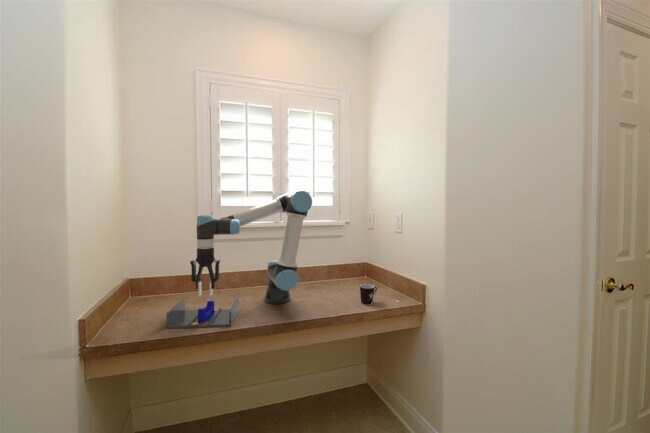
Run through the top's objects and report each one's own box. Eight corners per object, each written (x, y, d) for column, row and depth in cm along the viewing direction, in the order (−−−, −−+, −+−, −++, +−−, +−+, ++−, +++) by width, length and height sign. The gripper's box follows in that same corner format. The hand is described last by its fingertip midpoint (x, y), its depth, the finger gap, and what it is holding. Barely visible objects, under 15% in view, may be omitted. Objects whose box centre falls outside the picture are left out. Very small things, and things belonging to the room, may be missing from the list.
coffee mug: (362, 306, 153) (362, 288, 153) (357, 300, 162) (357, 284, 161) (381, 305, 156) (382, 287, 155) (375, 299, 164) (376, 283, 164)
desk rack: (238, 310, 143) (239, 297, 143) (231, 326, 126) (231, 311, 125) (182, 312, 140) (182, 298, 140) (166, 328, 122) (166, 313, 122)
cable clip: (205, 312, 138) (205, 300, 138) (214, 312, 138) (214, 300, 138) (194, 322, 126) (194, 309, 126) (204, 322, 126) (204, 309, 126)
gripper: (226, 246, 136) (226, 292, 137) (189, 246, 134) (189, 293, 135) (222, 248, 129) (222, 297, 130) (183, 248, 127) (183, 298, 128)
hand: (205, 295), depth 132 cm, fingers open, 4 cm apart
